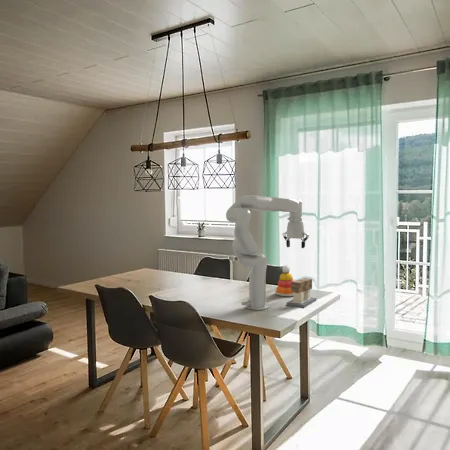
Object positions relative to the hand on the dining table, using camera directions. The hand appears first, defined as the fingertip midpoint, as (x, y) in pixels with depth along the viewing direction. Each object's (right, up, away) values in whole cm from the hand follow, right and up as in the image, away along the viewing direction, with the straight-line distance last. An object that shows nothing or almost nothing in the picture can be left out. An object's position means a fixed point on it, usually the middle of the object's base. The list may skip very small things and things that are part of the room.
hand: (295, 247), depth 265 cm
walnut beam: (+2, -25, -7) cm, 26 cm away
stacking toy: (-4, -32, +15) cm, 35 cm away
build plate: (+3, -33, -6) cm, 34 cm away
